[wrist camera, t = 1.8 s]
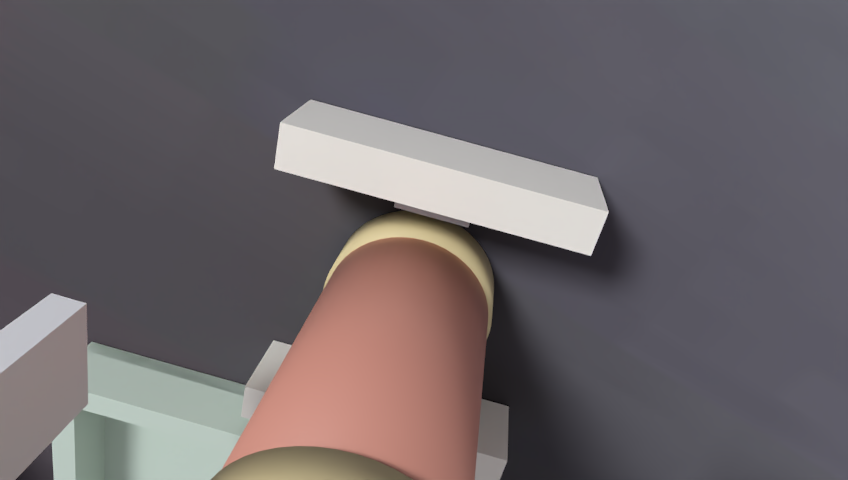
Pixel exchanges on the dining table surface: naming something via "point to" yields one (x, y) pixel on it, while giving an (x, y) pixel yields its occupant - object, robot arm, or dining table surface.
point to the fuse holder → (437, 207)
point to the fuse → (381, 364)
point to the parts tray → (149, 422)
